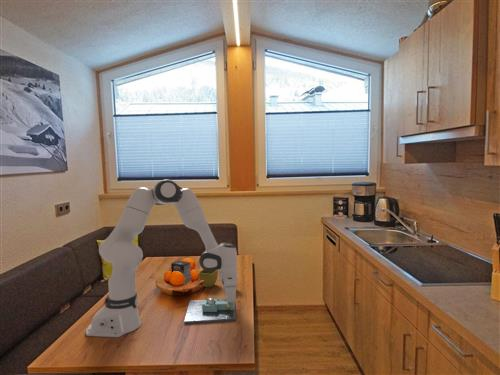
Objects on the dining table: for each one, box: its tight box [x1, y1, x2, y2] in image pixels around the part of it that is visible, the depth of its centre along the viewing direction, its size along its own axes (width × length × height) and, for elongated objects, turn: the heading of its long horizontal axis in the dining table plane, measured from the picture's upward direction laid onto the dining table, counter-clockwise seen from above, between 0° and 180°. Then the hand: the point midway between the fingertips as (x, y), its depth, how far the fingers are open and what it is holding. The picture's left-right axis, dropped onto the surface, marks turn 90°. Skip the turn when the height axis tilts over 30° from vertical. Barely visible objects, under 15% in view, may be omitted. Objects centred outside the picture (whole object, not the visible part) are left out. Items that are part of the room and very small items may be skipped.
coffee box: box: [170, 260, 192, 285], centre depth 183 cm, size 9×6×16 cm
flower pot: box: [198, 268, 219, 288], centre depth 189 cm, size 9×9×9 cm
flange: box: [202, 298, 234, 312], centre depth 156 cm, size 14×7×3 cm, turn 85°
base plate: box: [183, 297, 237, 325], centre depth 157 cm, size 23×22×6 cm
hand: (229, 303), depth 159 cm, fingers closed
